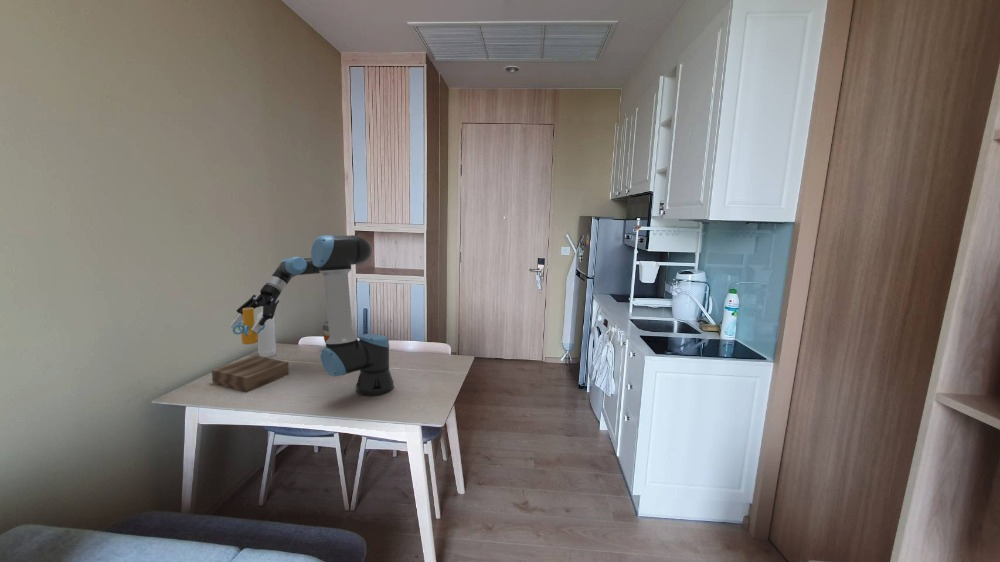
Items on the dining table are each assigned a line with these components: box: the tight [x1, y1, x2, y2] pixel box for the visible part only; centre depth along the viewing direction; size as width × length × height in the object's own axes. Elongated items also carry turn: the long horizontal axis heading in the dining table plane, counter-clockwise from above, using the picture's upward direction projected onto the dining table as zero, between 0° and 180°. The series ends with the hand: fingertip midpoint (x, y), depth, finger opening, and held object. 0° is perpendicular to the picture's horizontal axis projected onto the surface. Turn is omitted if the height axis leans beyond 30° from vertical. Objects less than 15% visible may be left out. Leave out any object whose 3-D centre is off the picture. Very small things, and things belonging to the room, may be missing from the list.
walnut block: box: [211, 355, 290, 393], centre depth 171 cm, size 20×20×6 cm
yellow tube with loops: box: [232, 308, 265, 345], centre depth 168 cm, size 12×10×15 cm
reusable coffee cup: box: [322, 321, 329, 344], centre depth 212 cm, size 13×13×15 cm
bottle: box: [256, 306, 277, 358], centre depth 200 cm, size 8×8×30 cm
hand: (243, 329), depth 166 cm, fingers closed on yellow tube with loops, 12 cm apart
